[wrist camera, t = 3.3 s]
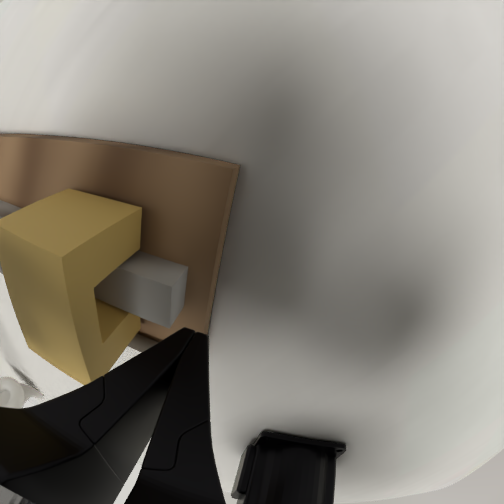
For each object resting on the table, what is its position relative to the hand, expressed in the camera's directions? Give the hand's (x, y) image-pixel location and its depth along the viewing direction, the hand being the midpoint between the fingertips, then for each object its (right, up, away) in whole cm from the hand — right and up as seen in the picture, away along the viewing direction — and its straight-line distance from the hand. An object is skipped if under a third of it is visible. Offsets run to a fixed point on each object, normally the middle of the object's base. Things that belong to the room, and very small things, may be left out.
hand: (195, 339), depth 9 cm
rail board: (-10, +5, +4) cm, 12 cm away
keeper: (-5, +2, +2) cm, 6 cm away
